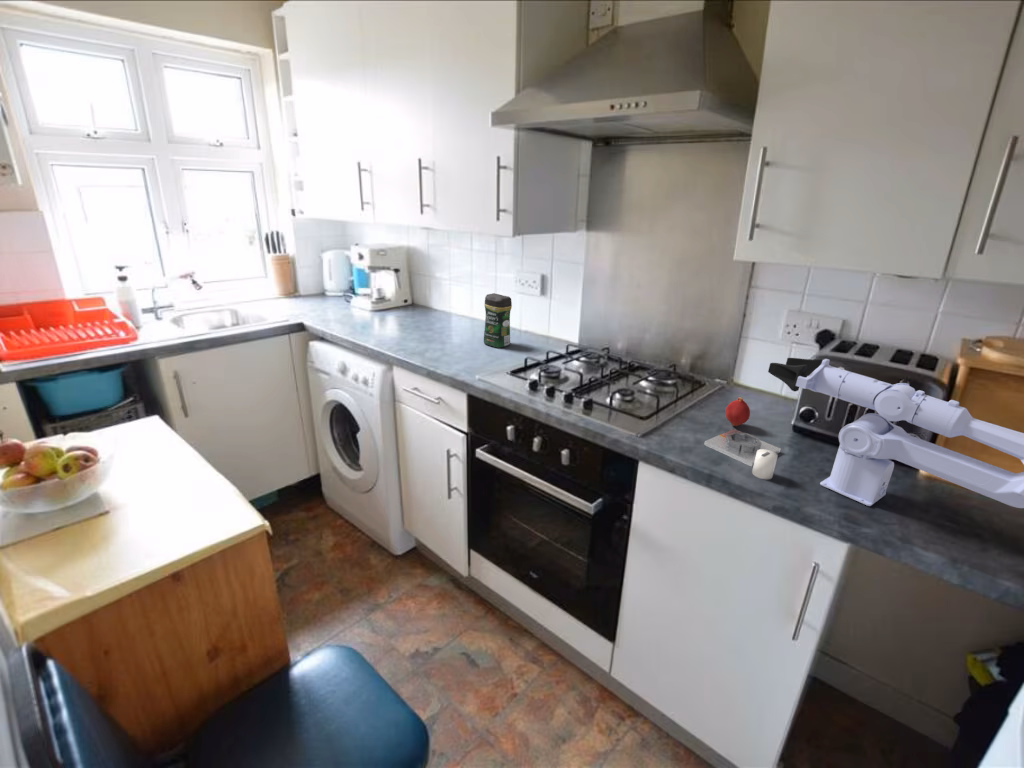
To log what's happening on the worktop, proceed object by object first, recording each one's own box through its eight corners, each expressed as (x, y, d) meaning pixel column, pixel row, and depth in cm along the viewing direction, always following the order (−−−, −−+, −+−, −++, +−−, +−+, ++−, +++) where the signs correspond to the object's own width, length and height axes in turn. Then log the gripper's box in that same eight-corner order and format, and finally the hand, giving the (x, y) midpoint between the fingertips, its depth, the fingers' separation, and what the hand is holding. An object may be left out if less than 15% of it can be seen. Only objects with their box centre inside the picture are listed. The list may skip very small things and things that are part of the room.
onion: (727, 419, 137) (732, 390, 134) (749, 425, 134) (756, 397, 131) (719, 426, 133) (725, 397, 130) (742, 433, 129) (749, 403, 127)
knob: (758, 467, 114) (763, 446, 112) (776, 475, 111) (781, 454, 109) (748, 472, 111) (753, 451, 110) (766, 481, 108) (771, 459, 107)
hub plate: (779, 452, 121) (782, 442, 120) (751, 466, 114) (753, 456, 113) (732, 432, 130) (734, 423, 129) (704, 444, 123) (705, 435, 122)
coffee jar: (479, 343, 191) (480, 293, 185) (494, 339, 197) (496, 290, 190) (498, 349, 186) (500, 298, 179) (513, 345, 191) (515, 295, 184)
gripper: (866, 361, 106) (799, 343, 116) (836, 372, 98) (766, 351, 108) (855, 393, 109) (790, 372, 119) (825, 406, 100) (758, 383, 110)
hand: (778, 364), depth 113 cm, fingers open, 7 cm apart
